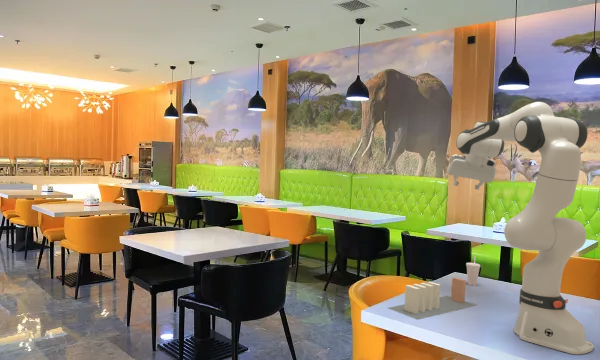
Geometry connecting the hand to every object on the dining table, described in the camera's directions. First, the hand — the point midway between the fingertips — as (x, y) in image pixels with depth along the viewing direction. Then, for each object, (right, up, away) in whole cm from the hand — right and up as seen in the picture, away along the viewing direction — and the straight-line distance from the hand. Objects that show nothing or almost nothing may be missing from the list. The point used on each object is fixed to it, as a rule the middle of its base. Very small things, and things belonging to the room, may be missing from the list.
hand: (466, 187), depth 200 cm
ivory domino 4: (-24, -45, -30) cm, 59 cm away
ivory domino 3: (-27, -45, -33) cm, 62 cm away
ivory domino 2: (-31, -45, -35) cm, 65 cm away
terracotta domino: (-11, -45, -21) cm, 51 cm away
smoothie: (+7, -46, +10) cm, 48 cm away
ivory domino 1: (-34, -45, -38) cm, 67 cm away
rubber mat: (-23, -45, -30) cm, 59 cm away
